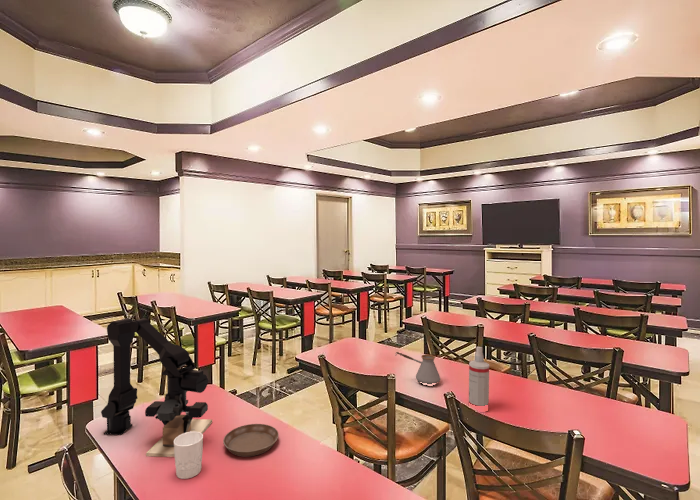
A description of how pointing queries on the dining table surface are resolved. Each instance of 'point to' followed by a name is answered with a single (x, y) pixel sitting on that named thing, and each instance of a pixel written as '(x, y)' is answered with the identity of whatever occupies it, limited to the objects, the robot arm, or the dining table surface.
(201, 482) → the dining table surface
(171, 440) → the block
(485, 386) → the grey nozzle bottle
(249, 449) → the plant saucer
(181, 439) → the white cup
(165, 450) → the board
